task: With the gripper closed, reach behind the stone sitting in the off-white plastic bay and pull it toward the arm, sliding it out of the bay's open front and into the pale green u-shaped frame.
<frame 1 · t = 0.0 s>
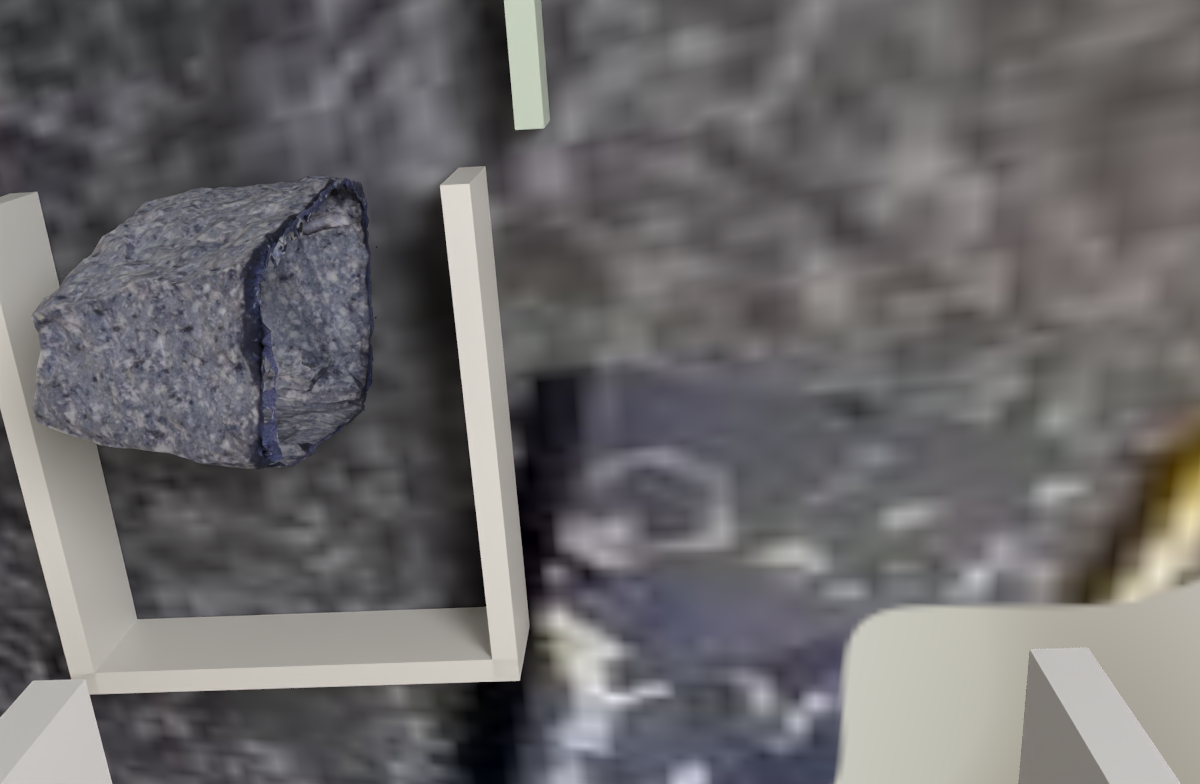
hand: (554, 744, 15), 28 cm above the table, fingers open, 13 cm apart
stone: (265, 282, 43), on the table
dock: (286, 423, 44), on the table
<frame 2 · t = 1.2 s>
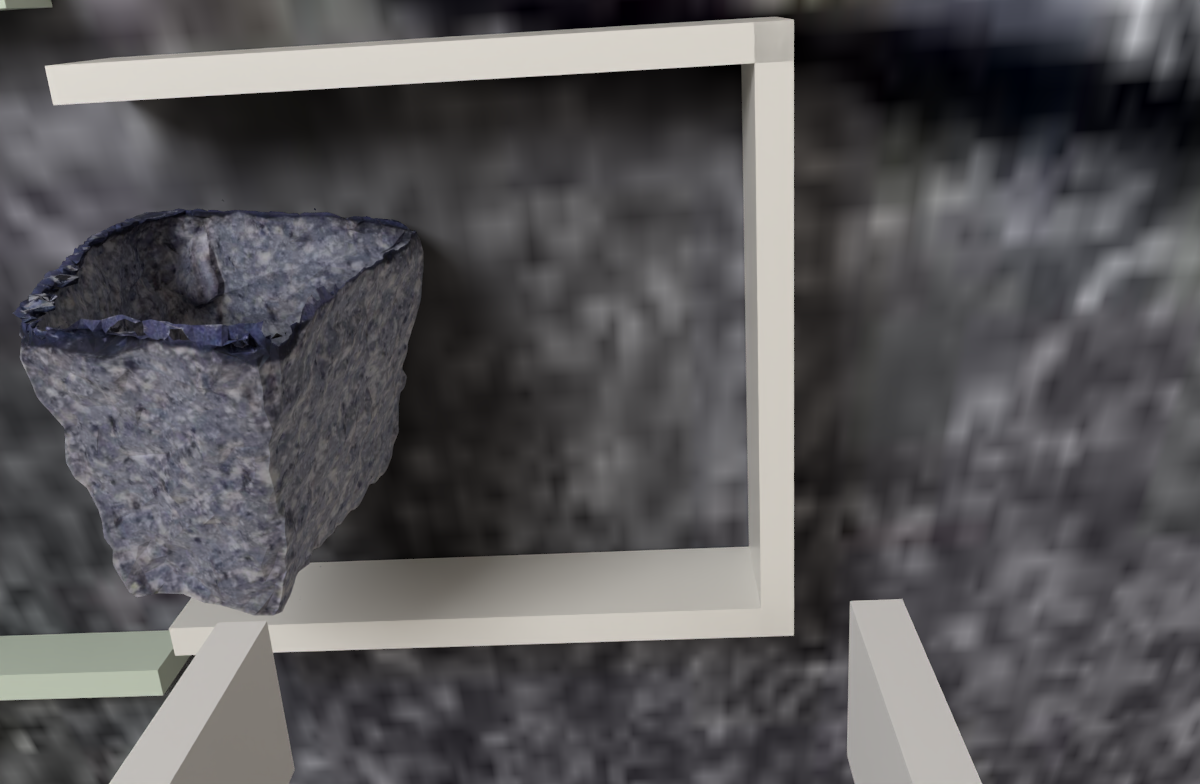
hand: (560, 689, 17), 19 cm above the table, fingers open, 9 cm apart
stone: (295, 338, 36), on the table
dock: (469, 333, 35), on the table
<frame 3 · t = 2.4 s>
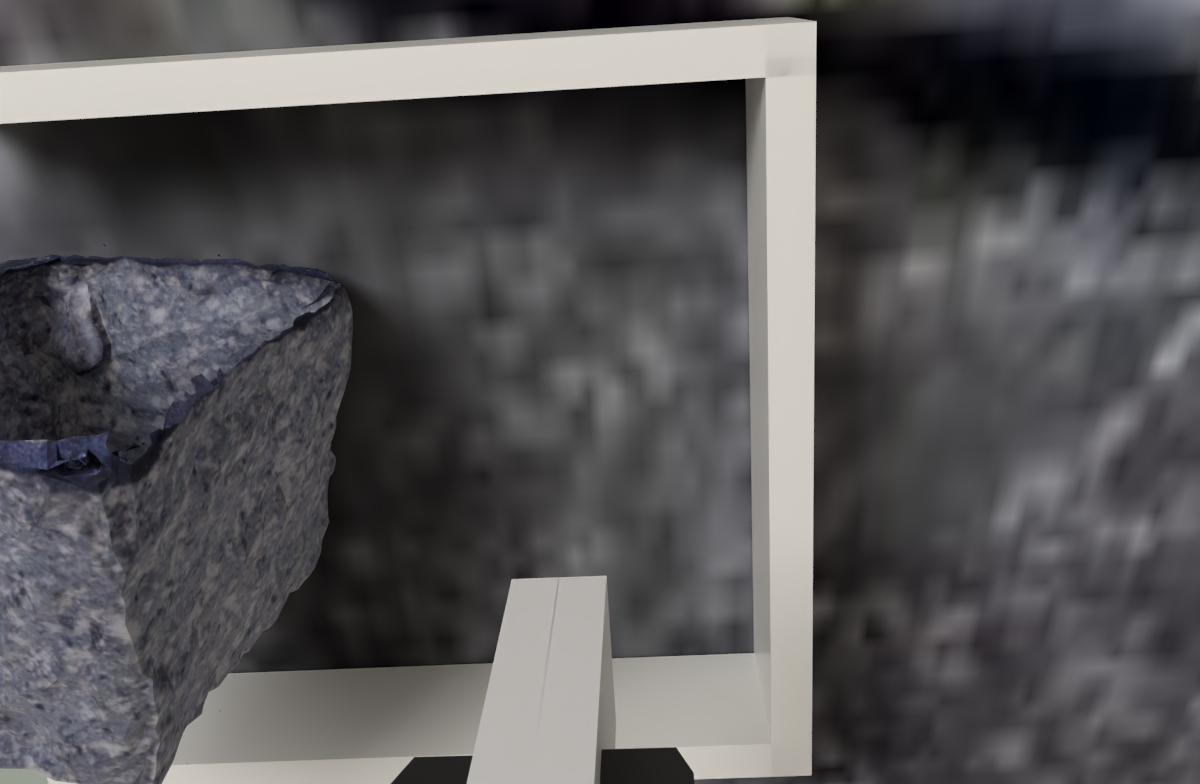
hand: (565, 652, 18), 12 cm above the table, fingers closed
stone: (201, 410, 29), on the table
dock: (414, 403, 29), on the table
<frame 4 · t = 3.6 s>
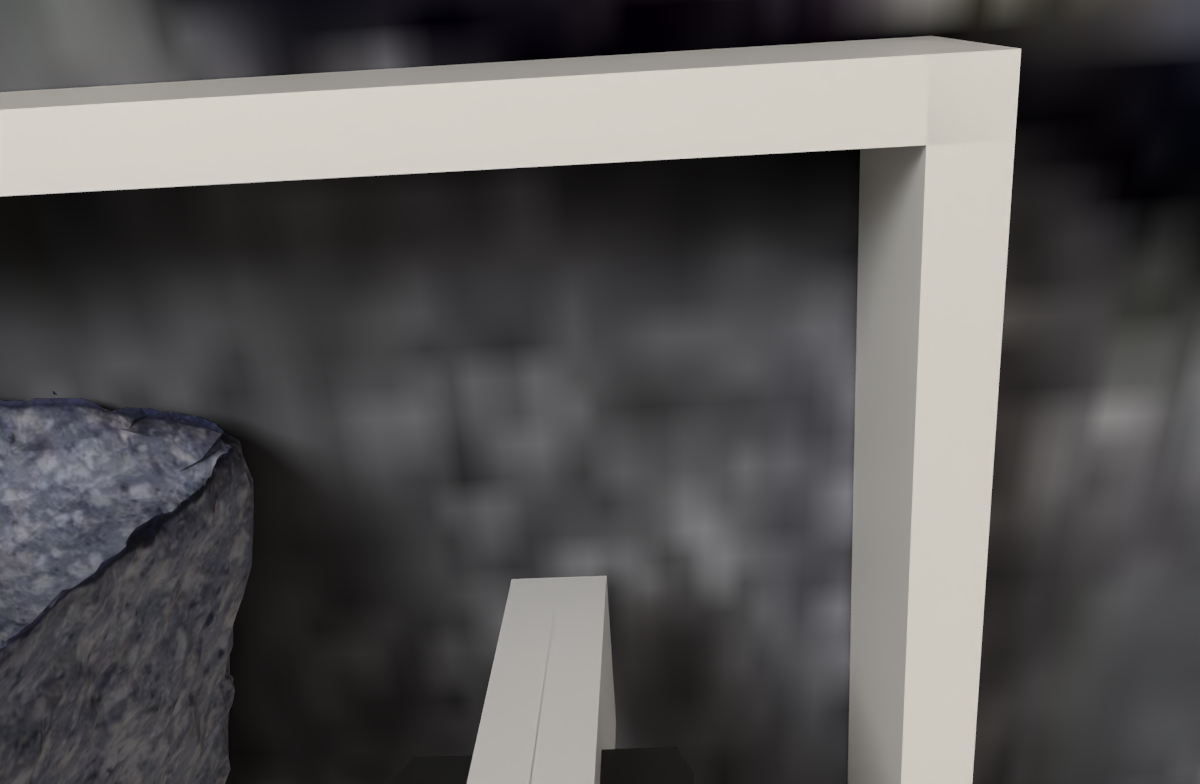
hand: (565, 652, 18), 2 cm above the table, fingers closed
stone: (46, 604, 20), on the table
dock: (353, 601, 20), on the table
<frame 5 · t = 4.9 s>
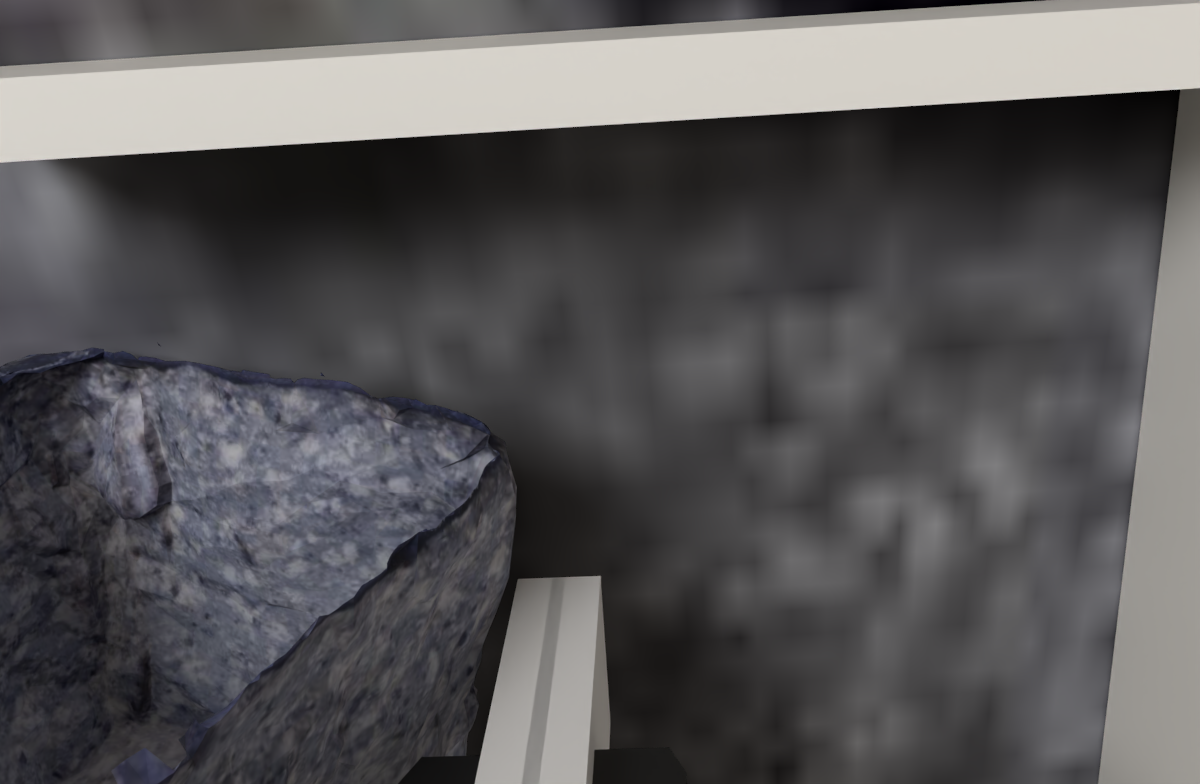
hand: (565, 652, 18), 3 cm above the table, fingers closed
stone: (298, 585, 19), point 1 cm above the table, touching gripper, hand
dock: (650, 543, 20), on the table
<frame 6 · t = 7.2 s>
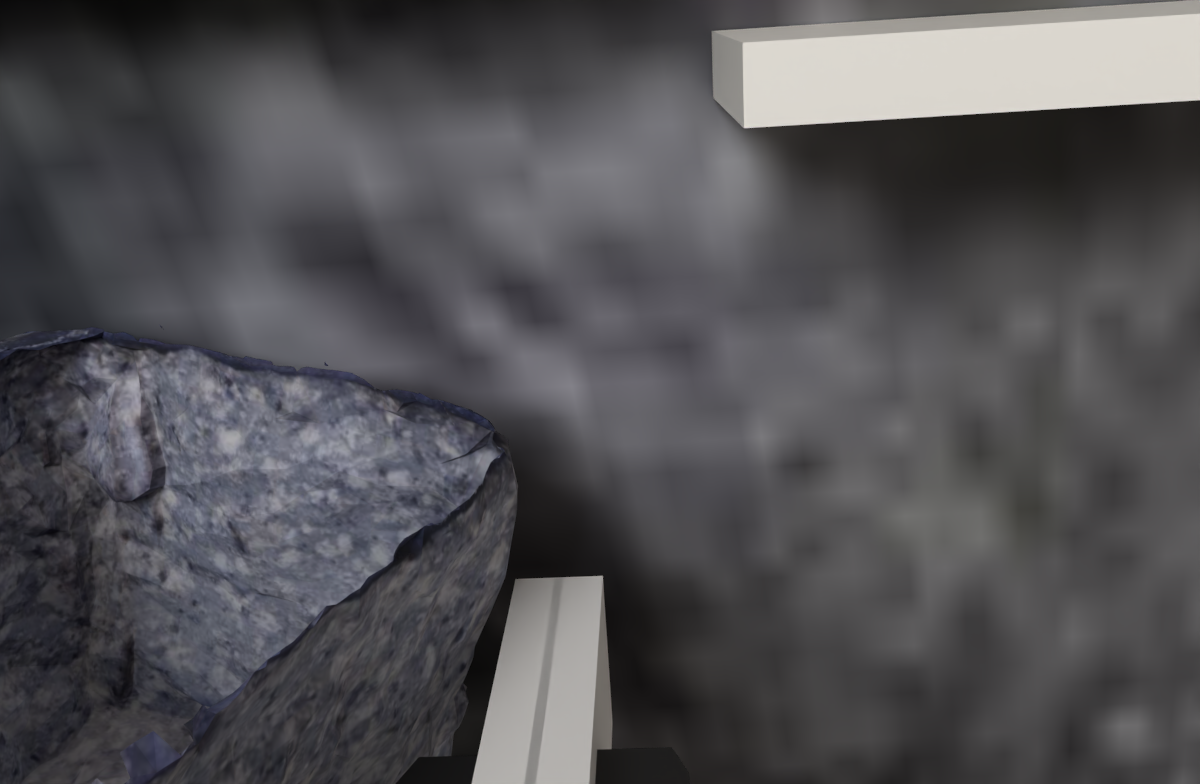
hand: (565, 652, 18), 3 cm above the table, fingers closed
stone: (288, 575, 19), point 1 cm above the table, touching gripper, hand
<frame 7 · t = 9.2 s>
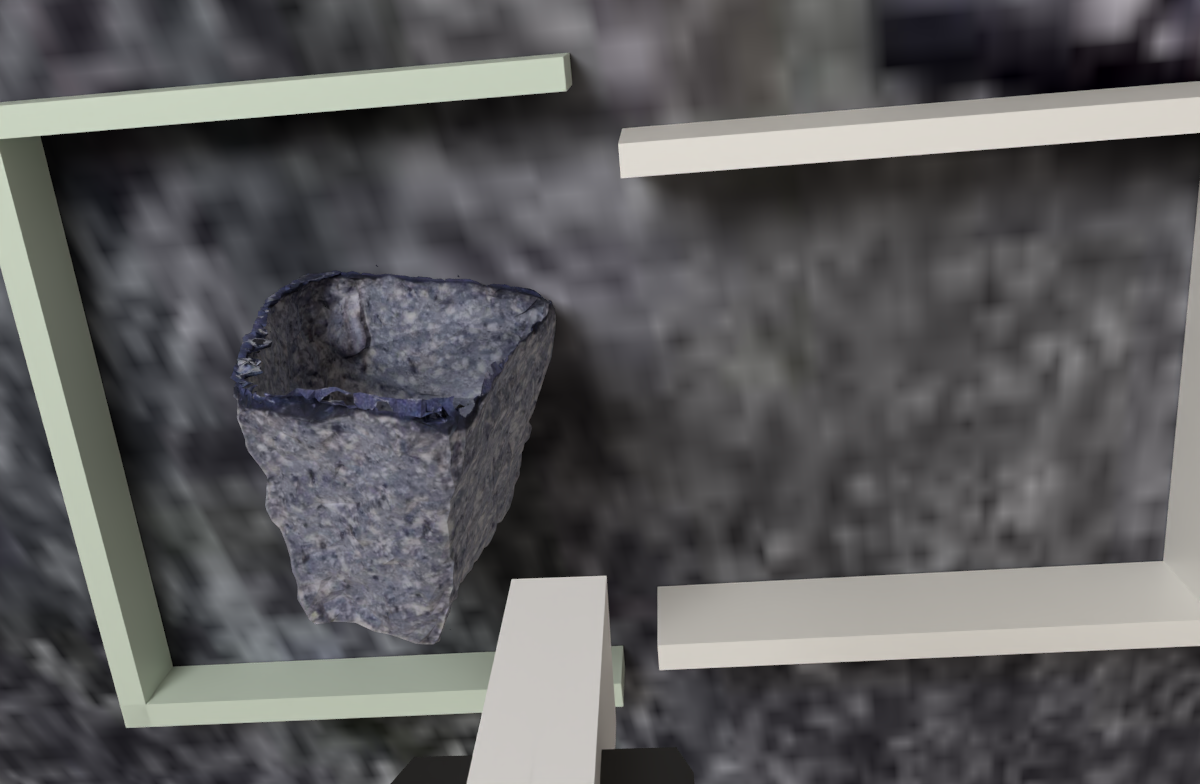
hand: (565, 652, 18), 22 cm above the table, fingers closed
stone: (429, 388, 40), on the table
pale green u-shaped frame: (338, 407, 40), on the table
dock: (922, 369, 38), on the table
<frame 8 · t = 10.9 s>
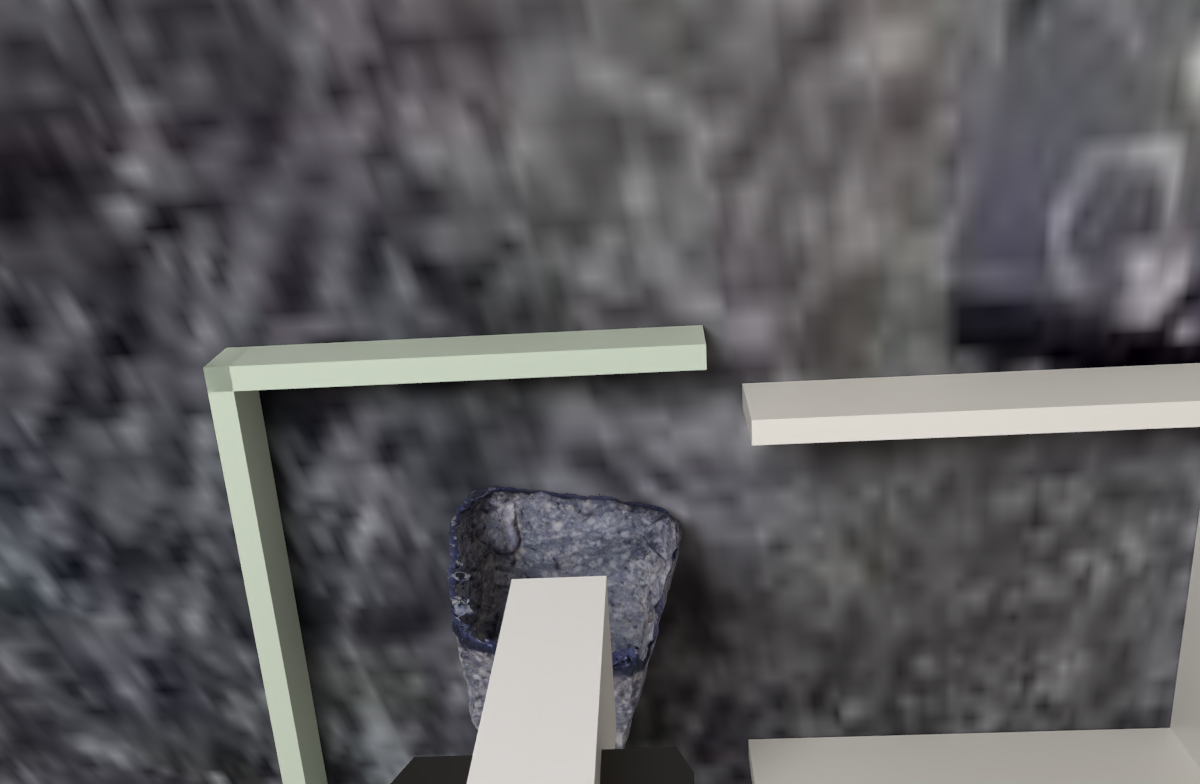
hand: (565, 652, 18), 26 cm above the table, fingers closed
stone: (566, 577, 47), on the table
pale green u-shaped frame: (489, 591, 47), on the table
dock: (978, 574, 46), on the table
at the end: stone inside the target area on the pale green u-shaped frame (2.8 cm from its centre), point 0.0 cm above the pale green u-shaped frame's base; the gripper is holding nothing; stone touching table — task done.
